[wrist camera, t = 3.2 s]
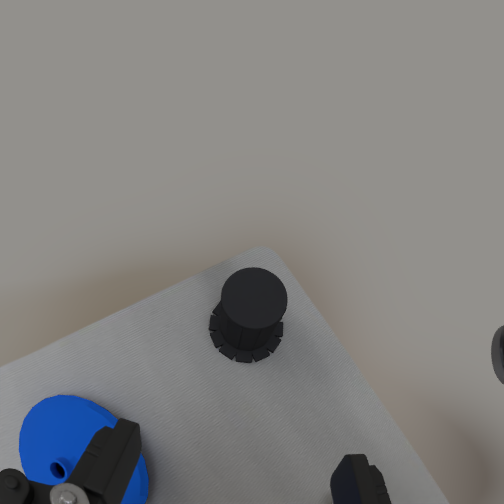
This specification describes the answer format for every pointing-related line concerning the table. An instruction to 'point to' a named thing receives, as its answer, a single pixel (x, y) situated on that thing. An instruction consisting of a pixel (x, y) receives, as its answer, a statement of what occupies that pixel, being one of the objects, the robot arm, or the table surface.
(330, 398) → the table surface
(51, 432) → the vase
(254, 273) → the black hat
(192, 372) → the table surface
